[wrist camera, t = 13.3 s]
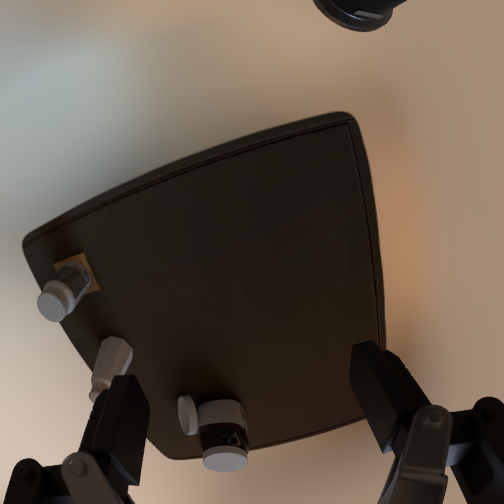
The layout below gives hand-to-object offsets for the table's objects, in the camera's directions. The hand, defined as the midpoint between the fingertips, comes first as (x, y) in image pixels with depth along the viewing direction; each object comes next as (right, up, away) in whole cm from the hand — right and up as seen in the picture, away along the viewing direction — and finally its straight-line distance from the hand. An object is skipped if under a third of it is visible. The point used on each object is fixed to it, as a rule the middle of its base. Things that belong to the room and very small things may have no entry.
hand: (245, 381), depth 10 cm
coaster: (-24, +1, +27) cm, 36 cm away
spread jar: (-7, -22, +38) cm, 45 cm away
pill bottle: (-24, +1, +27) cm, 36 cm away
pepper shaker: (-20, -10, +32) cm, 40 cm away
